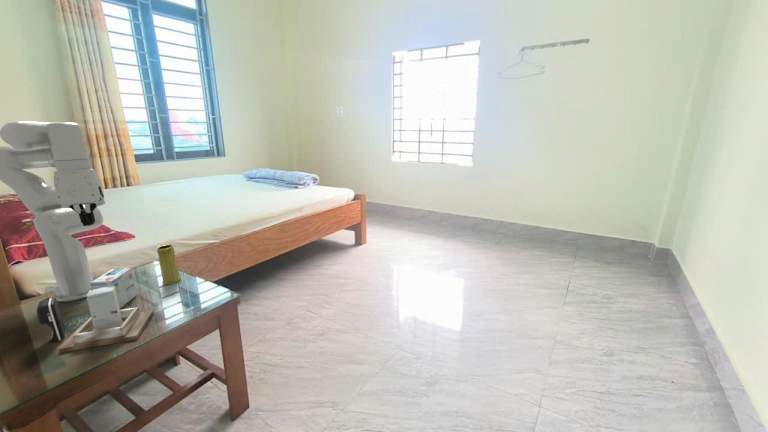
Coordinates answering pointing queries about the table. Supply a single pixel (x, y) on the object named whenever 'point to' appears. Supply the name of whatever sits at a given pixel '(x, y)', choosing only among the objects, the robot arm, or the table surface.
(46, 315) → the black hard case
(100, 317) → the skincare box
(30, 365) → the table surface
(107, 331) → the holder
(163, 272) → the vase
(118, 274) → the light bulb box
